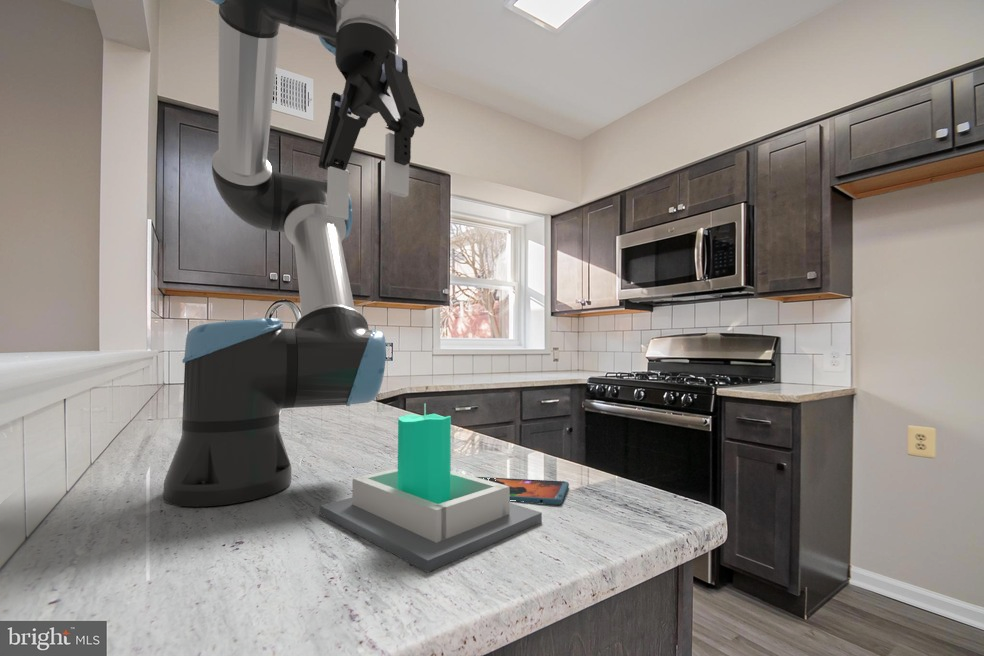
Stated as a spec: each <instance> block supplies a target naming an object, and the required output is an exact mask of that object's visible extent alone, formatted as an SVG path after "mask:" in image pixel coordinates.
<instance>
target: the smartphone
mask: <svg viewBox="0 0 984 656" xmlns="http://www.w3.org/2000/svg"><path fill="white" fill-rule="evenodd" d="M476 477H477V478H481V479H483V478H484V480H488V479H487V478H490V479H489V481H492V482H495V483H499V484H502V485H506V486H510V500H516V501H524V502H523V503H525V502H533V503H532V504H537V503H543V504H542V505H550V504H551V505H553V506H560V505H562V504H563V501H564V498H565V496H566V494H567V492H568V489H569V487H570V483H569V482H568V481H564V480H562V481H561V480H548V479H547V480H543V479H527V478H526V479H525V478H506V477H505V478H504V477H487V476H486V477H485V476H476ZM494 478H496V479H494ZM495 480H496V481H495Z"/></svg>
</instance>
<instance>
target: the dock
mask: <svg viewBox="0 0 984 656" xmlns="http://www.w3.org/2000/svg"><path fill="white" fill-rule="evenodd" d="M477 477H478V476H473V475H469V474H465V473H463V472H459V471H455V470H452V469H451V483H450V501H447V502H443V503H440V504H436V503H434V502H431V501H428V500H425V499H423V498H420V497H417V496H414V495H412V494H409V493H406V492H403V491H401V490H398V489H397V487H398V467H397V468H393V469H388V470H384V471H380V472H375V473H370V474H366V475H363V476H359V477H358V476H357V477H353V478H352V489H351V491H352V496H351V497H348V498H344V499H341V500H337V501H332V502H329V503H325V504H322V505H321V504H320V505H319V515H320V516H322V517H324V518H326V519H328V520H330V521H332V522H333V523H336V524H337V525H339V526H341V527H343V528H345V529H346V530H348V531H350V532H352V533H353V534H355V535H358V536H360V537H362V538H363V539H364V540H367V541H369V542H370V543H372V544H375V545H376V546H378V547H379V548H381V549H383V550H385V551H387V552H389V553H391V554H393V555H395V556H396V557H398V558H400V559H403V560H404V561H406V562H407V563H409V564H411V565H414V566H415V567H417V568H419V569H421V570H422V571H424V572H426V573H430V572H432V571H434V570H437V569H438V568H441V567H443V566H445V565H448V564H450V563H452V562H455V561H457V560H459V559H461V558H464V557H466V556H468V555H470V554H473V553H475V552H477V551H480V550H481V549H484V548H486V547H488V546H490V545H493V544H495V543H497V542H500V541H502V540H504V539H506V538H508V537H511V536H513V535H515V534H517V533H519V532H522V531H525V530H526V529H529V528H531V527H534V526H535V525H537V524H540V523H542V521H543V517H542V512H541V511H537V510H535V509H534V510H533V509H532V508H528V507H526V506H525V507H524V506H521V505H519V504H515V503H512V502H511V501H510V486H506V485H502V484H499V483H495V482H492V481H488V480H484V479H481V478H477Z"/></svg>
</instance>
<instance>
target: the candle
mask: <svg viewBox="0 0 984 656" xmlns="http://www.w3.org/2000/svg"><path fill="white" fill-rule="evenodd" d="M426 407H427V404H426V403H424V405H423V408H424V415H419V414H412V413H411V414H410V413H407V414H405V415H402V416H400V417H399V418H397V425H398V426H397V468H398V487H397V489H398V490H401V491H403V492H406V493H409V494H412V495H414V496H417V497H420V498H423V499H425V500H428V501H431V502H434V503H436V504H440V503H443V502H447V501H450V483H451V470H452V469H451V467H452V466H451V465H452V464H451V463H452V462H451V460H452V457H451V456H452V455H451V453H452V451H451V448H452V444H451V443H452V440H451V439H452V436H451V435H452V416H451V415H447V416H442V415H439V414H438V413H431V414H427V413H426V412H427V409H426Z"/></svg>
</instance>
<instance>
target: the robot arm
mask: <svg viewBox="0 0 984 656" xmlns="http://www.w3.org/2000/svg"><path fill="white" fill-rule="evenodd" d="M210 1H211V2H213V3H215V4H216V5H218V149H217V150H216V151H215V152H214V153H213V155H212V159H211V171H212V172H211V174H212V178H213V182H214V185H215V187H216V190H217V191H218V193H219V195H220V198H221V199H222V200H223V201H224V203H225V204H226V206H227V207H228V208H229V210H230V211H232V212H233V213H234V215H236V216H237V217H238V218H239V219H241V220H242V221H244V222H245V223H246V224H247V225H249V226H252V227H254V228H257V229H260V230H263V231H270V232H271V231H272V232H279V233H284V234H285V236H286V239H287V240H288V241H289V242H290V243H291V244H292V245H293V246H294V254H295V262H296V272H297V284H298V291H299V302H300V303H299V304H300V311H301V317H300V318H299V319H298V320H297V321H296V322H295V324H294V326H293V328H283V326H284V324H283V322H282V320H281V319H280V318H277V317H268V318H249V319H237V320H226V321H218V322H212V323H211V322H210V323H204V324H203V323H202V324H199V325H196V326H194V327H193V328H190V330H189V331H188V332H187V334H186V339H185V347H184V349H185V350H184V356H183V359H182V364H184V375H183V379H184V380H183V394H182V395H183V398H182V418H181V419H182V422H181V425H182V426H181V428H182V429H181V437H180V440H179V442H178V445H177V447H176V450H175V452H174V455H173V457H172V459H171V462H170V465H169V468H168V470H167V473H166V475H165V478H164V480H163V493H162V494H163V495H162V499H163V500H164V501H163V502H165V503H167V504H170V505H174V506H178V507H179V506H180V507H193V508H194V507H198V508H199V507H215V506H223V505H233V504H238V503H239V504H240V503H244V502H248V501H253V500H254V501H255V500H257V499H261V498H265V497H268V496H271V495H273V494H276V493H279V492H282V491H283V490H285V489H286V488H288V487H289V486H290V485H291V484H292V465H291V462H290V458H289V456H288V455H289V454H288V452H287V450H286V449H287V448H286V446H285V443H284V440H283V438H282V434H281V431H280V410H281V409H295V408H298V409H299V408H315V407H335V406H336V407H337V406H346V407H350V406H351V405H359V404H360V405H361V404H367V403H370V402H372V401H373V400H375V399H376V397H377V396H378V394H379V393H380V390H381V387H382V384H383V380H384V375H385V369H386V362H387V361H386V358H387V344H386V337H385V335H384V333H383V332H382V331H381V330H377V329H376V328H374V329H371V330H370V329H369V325H368V321H367V319H366V317H365V316H364V315H363V314H362V313H361V312H360V311H359V310H356V307H355V302H354V299H353V293H352V289H351V283H350V278H349V273H348V269H347V262H346V259H345V254H344V248H343V244H342V242H343V241H344V240H345V239H346V238H348V236H349V235H350V234H351V230H352V226H353V208H352V207H353V203H352V198H351V195H350V174H351V172H350V171H349V170H348V169H347V166H348V164H349V162H350V159H351V156H352V153H353V151H354V148H355V145H356V142H357V140H358V137H359V134H360V132H361V129H364V128H365V127H366V126H367V124H368V121H369V119H370V118H371V117H372V116H373V115H374V114H378V113H379V114H380V116H381V117H382V119H383V120H384V123H385V124H386V126H385V127H384V128H385V129H386V130H389V131H392V132H394V133H392V132H388V133H386V134H385V144H384V145H385V146H384V147H385V150H384V151H385V155H384V156H385V157H384V158H385V160H384V165H385V166H384V192H385V193H388V194H391V195H394V196H395V195H396V196H398V197H402V198H408V197H409V195H410V189H409V188H410V163H411V159H412V155H411V153H412V150H411V149H412V143H411V142H412V138H413V137H414V135H415V129H416V128H422V127H423V126H424V124H425V117H424V114H423V112H422V108H421V106H420V103H419V100H418V98H417V95H416V92H415V91H414V88H413V84H412V82H411V80H410V76H409V69H408V67H409V65H408V60H407V59H405V58H404V57H401V56H400V55H398V54H399V52H398V51H399V47H398V43H399V0H210ZM280 25H285V26H288V27H290V28H294V29H296V30H299V31H303V32H306V33H309V34H312V35H315V36H318V39H319V41H320V43H321V44H322V46H323V47H324V49H326V50H327V51H328V52H330V53H331V54H332V55H333V56H334V57H335V59H334V60H335V64H336V67H337V69H338V71H339V72H340V73H341V74H342V76H343V78H344V79H345V83H344V89H343V91H342V94H340V93H337V92H332V95H331V97H330V109H329V110H330V111H329V115H328V120H327V123H326V124H327V125H326V129H325V134H324V137H323V141H322V147H321V151H320V155H319V159H318V167H319V168H320V169H323V170H327V179H316V178H311V177H307V176H306V177H305V176H300V175H294V174H290V173H284V172H278V171H273V169H272V165H271V163H270V162H269V160H268V152H269V151H268V149H269V142H270V141H269V140H270V130H271V120H272V113H273V112H272V111H273V103H274V101H273V100H274V99H273V98H274V89H275V80H276V72H277V71H276V69H277V60H278V52H279V51H278V50H279V38H280Z"/></svg>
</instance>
